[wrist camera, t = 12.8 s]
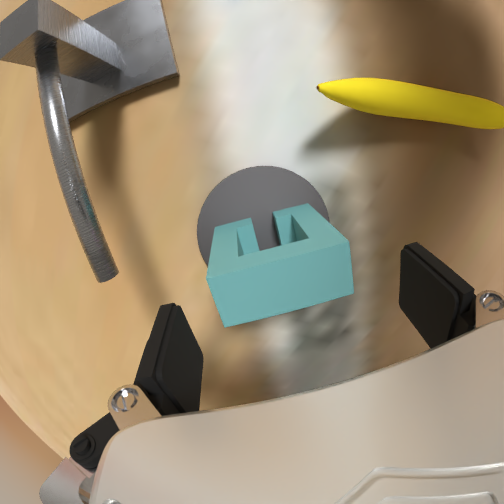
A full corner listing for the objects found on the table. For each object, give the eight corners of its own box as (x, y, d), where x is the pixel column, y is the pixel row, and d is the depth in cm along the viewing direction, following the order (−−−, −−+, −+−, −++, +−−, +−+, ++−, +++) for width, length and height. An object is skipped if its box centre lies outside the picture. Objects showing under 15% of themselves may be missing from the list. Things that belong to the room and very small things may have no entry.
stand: (160, -7, 14) (114, -88, 3) (214, 204, 21) (198, 276, 10) (51, 46, 14) (-38, 19, 4) (99, 239, 21) (21, 317, 10)
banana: (295, 79, 17) (321, 57, 12) (477, 102, 18) (524, 104, 12) (299, 117, 18) (327, 109, 13) (479, 130, 19) (526, 138, 13)
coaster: (315, 153, 20) (317, 153, 19) (334, 273, 23) (336, 275, 23) (180, 186, 20) (179, 187, 19) (219, 302, 24) (218, 305, 23)
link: (307, 203, 21) (349, 241, 13) (314, 240, 22) (353, 293, 14) (214, 227, 21) (206, 278, 13) (226, 263, 22) (224, 327, 15)
